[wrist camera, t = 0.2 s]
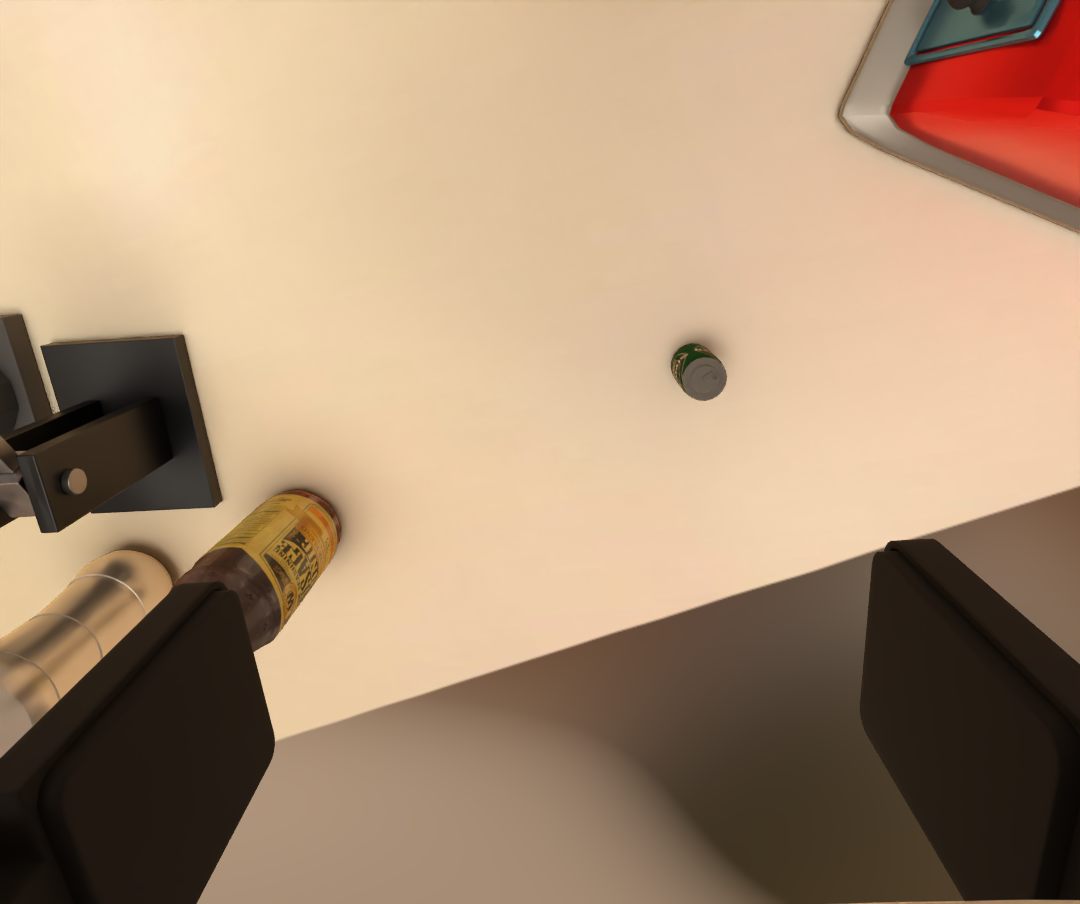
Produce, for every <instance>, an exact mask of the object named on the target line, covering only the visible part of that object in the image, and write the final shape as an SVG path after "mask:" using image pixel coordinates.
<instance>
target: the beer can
mask: <svg viewBox="0 0 1080 904" xmlns="http://www.w3.org/2000/svg"><path fill="white" fill-rule="evenodd" d="M671 369H672V374H673V376H674V377H675V379H676V381H677V382H678V384H679V385H680V387H681V388H682V389H683V391H684V392H685V393H686V394H688V395H689V396H691V397H692V398H694V399H696V400H702V401H706V400H710V399H713V398H715V397H716V396H718V395H719V394H720V393H721V392H722V391H723V389H724V387H725V385H726V380H727V375H726V370H725V368H724V366H723V365H722V363H721V361H720V360H719V359H718V358H717V357H716V356H714V355H713V354H712V353H711V352H710V351H709V350H708V349H707V348H705V347H703V346H701V345H698V344H689V345H685V346H683V347H682V348H680V349H679V350H678V351H677V352H676V353H675V354H674V356H673V359H672V362H671Z"/></svg>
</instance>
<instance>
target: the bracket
mask: <svg viewBox="0 0 1080 904" xmlns="http://www.w3.org/2000/svg"><path fill="white" fill-rule="evenodd" d="M40 347H41V350H42V354H43V357H44V360H45V363H46V367H47V370H48V373H49V376H50V380H51V383H52V386H53V390H54V393H55V396H56V399H57V403H58V406H59V409H60V412H57V413H55V414H53V415H50V416H48V417H45V418H43V419H40V420H38V421H35V422H33V423H30V424H28V425H25V426H23V427H20V428H18V429H15V430H13V431H10V432H8V433H5V434H3V435H1V437H2V438H3V439H4V440H5V441H6V442H7V443H8V444H9V445H10V446H11V447H12V448H13V450H14V451H25V452H23V453H21V454H19V455H17V456H16V459H17V462H18V465H19V468H20V471H21V474H22V477H23V480H24V483H25V486H26V489H27V492H28V495H29V498H30V501H31V504H32V507H33V510H34V513H35V516H36V519H37V522H38V525H39V528H40V531H41V533H53V532H60V531H61V530H63V529H64V528H66V527H67V526H69V525H71V524H72V523H74V522H75V521H77V520H78V519H80V518H81V517H83V516H85V515H86V514H88V513H89V512H91V513H112V512H132V511H152V510H171V509H191V508H211V507H216V506H217V505H218V504H219V503H220V502H221V501H222V498H221V494H220V489H219V485H218V481H217V477H216V472H215V468H214V464H213V460H212V455H211V451H210V447H209V443H208V438H207V434H206V430H205V426H204V421H203V417H202V413H201V409H200V404H199V400H198V396H197V392H196V387H195V383H194V379H193V375H192V370H191V366H190V362H189V358H188V353H187V349H186V345H185V340H184V336H183V335H172V336H156V337H140V338H123V339H107V340H91V341H75V342H59V343H50V344H47V345H43V346H40ZM17 518H18V517H10V516H9V515H8V514H7V513H6V512H5V511H4V510H3V509H2V508H1V507H0V528H1V527H2V526H4V525H6V524H8V523H10V522H11V521H13V520H15V519H17Z"/></svg>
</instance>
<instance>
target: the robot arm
mask: <svg viewBox="0 0 1080 904" xmlns="http://www.w3.org/2000/svg"><path fill="white" fill-rule="evenodd" d="M860 715H861V720H862V724H863V727H864V730H865V732H866V734H867V736H868V738H869V740H870V741H871V743H872V744H873V746H874V748H875V750H876V751H877V753H878V755H879V756H880V758H881V760H882V762H883V763H884V765H885V767H886V768H887V770H888V772H889V774H890V775H891V777H892V778H893V780H894V782H895V784H896V785H897V787H898V789H899V790H900V792H901V794H902V796H903V797H904V799H905V801H906V802H907V804H908V806H909V807H910V809H911V811H912V813H913V814H914V816H915V818H916V819H917V821H918V822H919V824H920V826H921V828H922V830H923V831H924V833H925V835H926V836H927V838H928V840H929V841H930V843H931V845H932V846H933V848H934V850H935V851H936V853H937V855H938V857H939V858H940V860H941V862H942V863H943V865H944V867H945V869H946V870H947V872H948V874H949V875H950V877H951V879H952V880H953V882H954V884H955V885H956V887H957V889H958V891H959V892H960V894H961V896H962V897H963V899H964V901H949V902H948V901H947V902H946V901H945V902H886V903H852V904H1080V664H1079V663H1077V662H1076V661H1075V660H1074V659H1073V658H1071V656H1070V655H1068V654H1067V653H1066V652H1065V651H1064V650H1063V649H1061V648H1060V647H1059V646H1058V645H1057V644H1056V643H1055V642H1053V641H1052V640H1051V639H1050V638H1048V636H1046V635H1045V634H1044V633H1043V632H1042V631H1041V630H1039V629H1038V628H1037V627H1036V626H1035V625H1034V624H1032V623H1031V622H1030V621H1029V620H1028V619H1027V618H1026V617H1024V616H1023V615H1022V614H1021V613H1020V612H1019V611H1018V610H1017V609H1015V608H1014V607H1013V606H1012V605H1011V604H1010V603H1008V602H1007V601H1006V600H1005V599H1004V598H1003V597H1002V596H1000V595H999V594H998V593H997V592H996V591H995V590H993V589H992V588H991V587H990V586H989V585H988V584H987V583H985V582H984V581H983V580H982V579H981V578H980V577H979V576H977V575H976V574H975V573H974V572H973V571H971V570H970V569H969V568H968V567H967V566H966V565H965V564H963V563H962V562H961V561H960V560H959V559H958V558H957V557H955V556H954V555H953V554H952V553H951V552H950V551H949V550H947V549H946V548H945V547H944V546H943V545H942V544H940V543H939V542H938V541H936V540H935V539H917V540H900V541H890V542H889V543H888V544H887V545H886V547H885V550H884V552H877V553H876V554H875V555H874V557H873V562H872V571H871V583H870V595H869V606H868V618H867V630H866V641H865V653H864V665H863V676H862V687H861V699H860ZM274 746H275V737H274V732H273V728H272V724H271V720H270V716H269V712H268V708H267V704H266V700H265V696H264V692H263V689H262V685H261V681H260V677H259V673H258V669H257V665H256V661H255V657H254V653H253V649H252V645H251V641H250V637H249V634H248V630H247V626H246V622H245V618H244V614H243V610H242V606H241V602H240V599H239V596H238V594H237V593H236V592H235V591H233V590H228V588H227V587H226V586H225V584H224V583H222V582H220V581H214V582H197V583H182V584H179V585H178V586H176V587H175V588H174V589H173V590H172V591H171V592H170V593H169V594H168V595H167V596H166V597H165V598H163V599H162V600H161V601H160V602H159V603H158V604H157V605H156V606H155V607H154V608H153V609H152V610H151V611H150V612H149V613H148V614H147V615H146V616H145V617H144V618H143V619H142V620H141V621H140V622H139V623H138V624H137V625H136V626H135V627H134V628H133V629H132V630H131V631H130V632H129V633H128V634H127V635H126V636H125V637H124V638H123V639H122V640H121V641H120V642H118V643H117V644H116V645H115V646H114V647H113V648H112V649H111V650H110V651H109V652H108V653H107V654H106V655H105V656H104V657H103V658H102V659H101V660H100V661H99V662H98V663H97V664H96V665H95V666H94V667H93V668H92V669H91V670H90V671H89V672H88V673H87V674H86V675H85V676H84V677H83V678H82V679H81V680H80V681H79V682H78V683H77V684H76V685H75V686H74V687H72V688H71V689H70V690H69V691H68V692H67V693H66V694H65V695H64V696H63V697H62V698H61V699H60V700H59V701H58V702H57V703H56V704H55V705H54V706H53V707H52V708H51V709H50V710H49V711H48V712H47V713H46V714H45V715H44V716H43V717H42V718H41V719H40V720H39V721H38V722H37V723H36V724H35V725H34V726H33V727H32V728H31V729H30V730H29V731H27V732H26V733H25V734H24V735H23V736H22V737H21V738H20V739H19V740H18V741H17V742H16V743H15V744H14V745H13V746H12V747H11V748H10V749H9V750H8V751H7V752H6V753H5V754H4V755H3V756H2V757H1V758H0V904H196V903H197V902H198V900H199V898H200V896H201V894H202V892H203V890H204V888H205V886H206V884H207V882H208V880H209V879H210V877H211V875H212V873H213V871H214V869H215V867H216V865H217V863H218V861H219V859H220V858H221V856H222V854H223V852H224V850H225V848H226V846H227V844H228V842H229V840H230V839H231V837H232V835H233V833H234V831H235V829H236V827H237V825H238V823H239V821H240V819H241V818H242V816H243V814H244V812H245V810H246V808H247V806H248V804H249V802H250V800H251V798H252V796H253V795H254V793H255V791H256V789H257V787H258V785H259V783H260V781H261V779H262V777H263V776H264V774H265V772H266V770H267V768H268V766H269V764H270V762H271V759H272V756H273V753H274ZM850 904H851V903H850Z"/></svg>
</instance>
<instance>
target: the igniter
mask: <svg viewBox="0 0 1080 904" xmlns="http://www.w3.org/2000/svg"><path fill="white" fill-rule="evenodd" d="M50 415H52V412H51V409H50V406H49V403H48V400H47V396H46V393H45V390H44V387H43V383H42V380H41V377H40V374H39V370H38V367H37V364H36V361H35V358H34V354H33V351H32V348H31V345H30V341H29V338H28V335H27V332H26V328H25V325H24V322H23V319H22V316H21V315H20V314H16V315H1V316H0V435H3V434H5V433H8V432H10V431H13V430H15V429H18V428H20V427H23V426H25V425H28V424H30V423H33V422H35V421H38V420H40V419H43V418H45V417H48V416H50Z"/></svg>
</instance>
